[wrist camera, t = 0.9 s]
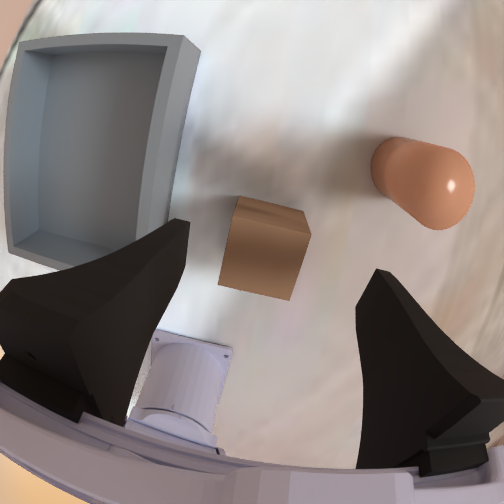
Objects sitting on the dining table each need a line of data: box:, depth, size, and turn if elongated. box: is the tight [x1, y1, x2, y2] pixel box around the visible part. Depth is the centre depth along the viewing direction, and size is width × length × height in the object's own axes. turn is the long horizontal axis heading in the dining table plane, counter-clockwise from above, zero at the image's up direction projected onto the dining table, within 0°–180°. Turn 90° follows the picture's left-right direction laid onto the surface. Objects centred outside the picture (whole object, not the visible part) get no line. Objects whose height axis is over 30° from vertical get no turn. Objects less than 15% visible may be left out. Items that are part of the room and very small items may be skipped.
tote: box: [4, 33, 201, 271], centre depth 20 cm, size 18×14×5 cm
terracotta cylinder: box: [371, 137, 475, 230], centre depth 19 cm, size 5×5×7 cm
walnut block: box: [218, 196, 311, 301], centre depth 23 cm, size 5×5×5 cm
